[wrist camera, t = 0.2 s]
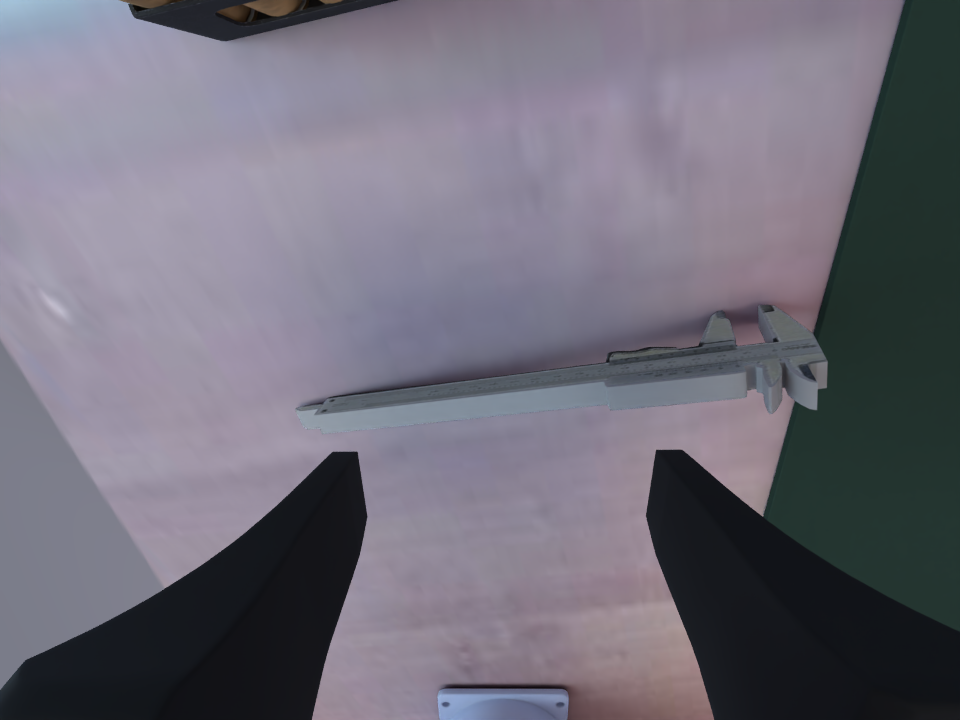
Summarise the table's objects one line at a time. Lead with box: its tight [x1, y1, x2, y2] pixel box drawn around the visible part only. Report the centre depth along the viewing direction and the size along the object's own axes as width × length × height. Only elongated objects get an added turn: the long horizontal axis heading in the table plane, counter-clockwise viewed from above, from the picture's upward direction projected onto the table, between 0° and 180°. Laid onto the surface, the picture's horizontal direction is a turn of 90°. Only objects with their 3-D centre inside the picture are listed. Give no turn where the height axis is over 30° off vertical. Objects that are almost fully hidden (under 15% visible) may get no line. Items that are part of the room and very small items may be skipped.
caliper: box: [295, 305, 828, 434], centre depth 20 cm, size 20×1×6 cm, turn 105°
